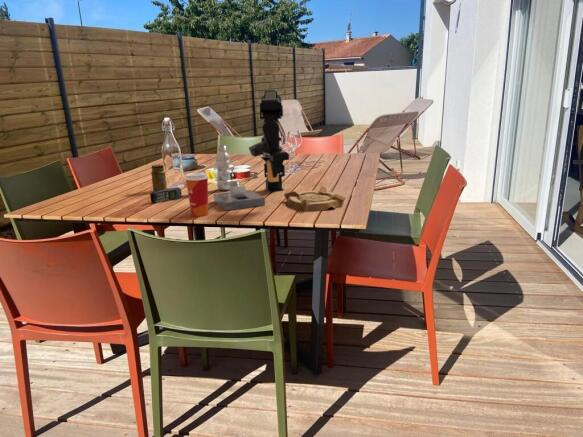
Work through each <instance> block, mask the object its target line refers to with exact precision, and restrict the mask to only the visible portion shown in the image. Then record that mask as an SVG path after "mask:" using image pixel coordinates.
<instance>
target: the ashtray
mask: <svg viewBox="0 0 583 437" xmlns="http://www.w3.org/2000/svg"><path fill="white" fill-rule="evenodd" d="M283 195H284V197H285V199H286V204H287V207H289V208H290V209H292V210H297V211H305V212H322V211H326V210H328V209H329V208H333V209H334V210H337V209H339V208H342V207H343V205H345V204H344V203H345V200H346V197H345V196H343V195H341V194H338V193H335V192H333V191H332V192H331V191H327V187H325V186H321V187H320V188H319V190H305V191H300V192H297V191H296V190H293V191H289V192H287V193H284V194H283Z"/></svg>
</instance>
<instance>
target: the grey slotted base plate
mask: <svg viewBox="0 0 583 437" xmlns="http://www.w3.org/2000/svg"><path fill="white" fill-rule="evenodd" d="M229 190H230V192H221V193H214V194H213V201H214V203H216V204H217V205H218V206H219V207H220V208H222V209H223V210H224V211H231V210H238V209H246V208H254V207H260V206H261V207H262V206H265V205H266V203H265V202H266V198H265V197H264V196H262V195H260V194H259V193H258V192H255V191H254V190H252V189H247V190H246V185H244V184H241V183H240V180H231V181H230V189H229Z"/></svg>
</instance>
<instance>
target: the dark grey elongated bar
mask: <svg viewBox="0 0 583 437" xmlns="http://www.w3.org/2000/svg"><path fill="white" fill-rule="evenodd" d="M149 197H150V203H151V204H152V205H155V204H161V203H165V202H171V201H176V200H178V199H180V198H183V197H184V195H183V194H182V189H181V188H180V187H170V188H167V189H165V190H159V191H155V192H151V193H150V194H149Z"/></svg>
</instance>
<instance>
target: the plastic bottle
mask: <svg viewBox="0 0 583 437" xmlns="http://www.w3.org/2000/svg"><path fill="white" fill-rule="evenodd" d="M214 160H215V164H216V170H217V180H216V181H217V183H216V186H217V189H218V190H219V191H228V190H230V181H232V179H231V174H230V173H231V172H230V171H231V170H230V162H231V156H230V154H229V153H228V152H227V146H226V145H218V146H217V152H216V155H215V156H214Z"/></svg>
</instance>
